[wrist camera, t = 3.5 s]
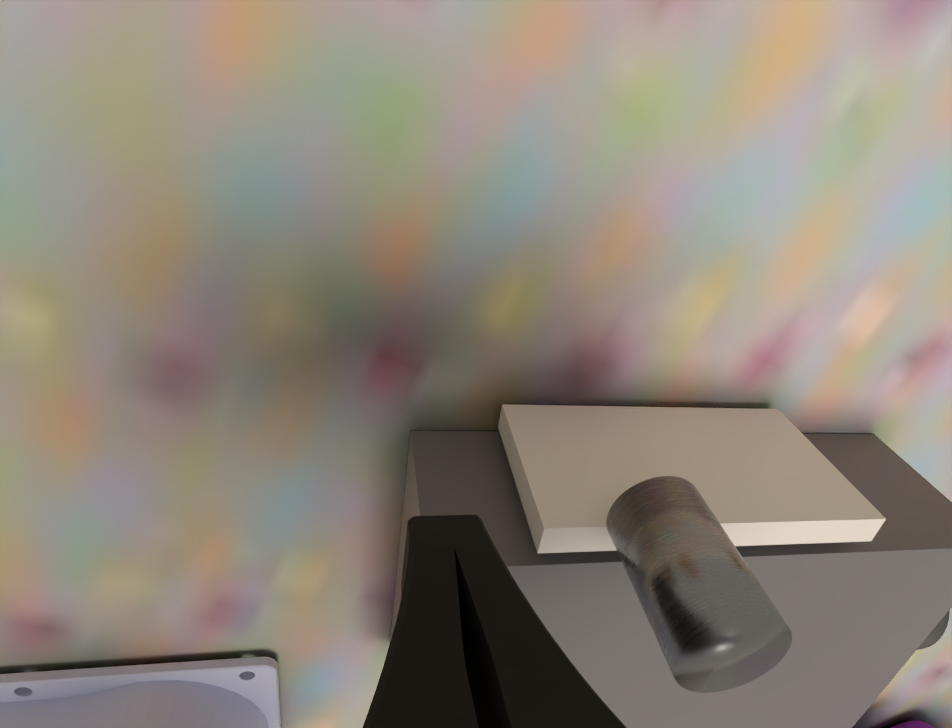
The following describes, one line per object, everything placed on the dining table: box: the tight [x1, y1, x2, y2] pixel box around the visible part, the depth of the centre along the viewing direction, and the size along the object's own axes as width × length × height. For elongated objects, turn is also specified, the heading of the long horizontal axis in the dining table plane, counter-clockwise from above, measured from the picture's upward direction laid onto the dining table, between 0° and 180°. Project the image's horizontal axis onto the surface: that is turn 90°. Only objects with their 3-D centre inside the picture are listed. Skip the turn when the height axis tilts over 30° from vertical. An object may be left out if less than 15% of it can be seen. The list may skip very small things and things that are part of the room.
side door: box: [498, 404, 886, 693], centre depth 15 cm, size 9×2×8 cm, turn 82°
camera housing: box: [390, 431, 952, 728], centre depth 20 cm, size 18×10×5 cm, turn 82°
